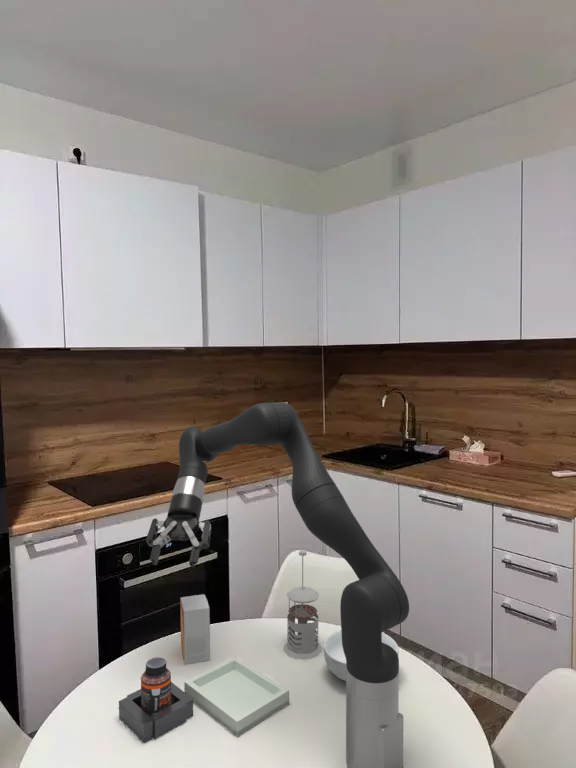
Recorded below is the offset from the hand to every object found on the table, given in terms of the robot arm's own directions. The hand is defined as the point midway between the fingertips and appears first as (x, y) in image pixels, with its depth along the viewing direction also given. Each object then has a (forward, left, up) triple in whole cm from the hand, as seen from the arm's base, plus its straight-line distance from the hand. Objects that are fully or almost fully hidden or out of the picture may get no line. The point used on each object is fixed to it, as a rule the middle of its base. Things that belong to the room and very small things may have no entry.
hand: (172, 564), depth 117 cm
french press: (-10, -31, -27) cm, 42 cm away
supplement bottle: (-8, +9, -27) cm, 29 cm away
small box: (+6, -10, -27) cm, 30 cm away
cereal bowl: (-28, -32, -27) cm, 50 cm away
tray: (-15, -6, -27) cm, 31 cm away
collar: (-8, +9, -27) cm, 29 cm away
